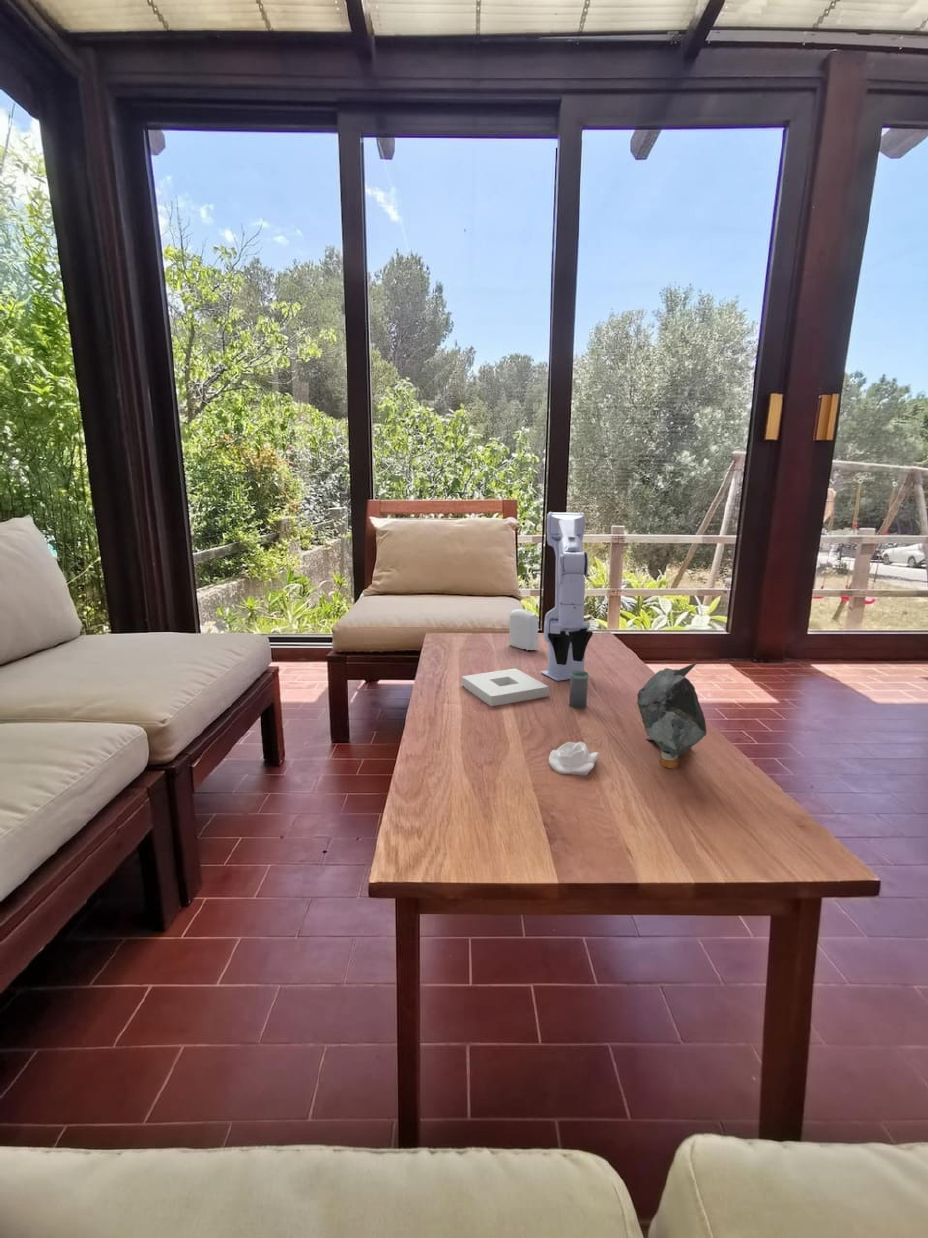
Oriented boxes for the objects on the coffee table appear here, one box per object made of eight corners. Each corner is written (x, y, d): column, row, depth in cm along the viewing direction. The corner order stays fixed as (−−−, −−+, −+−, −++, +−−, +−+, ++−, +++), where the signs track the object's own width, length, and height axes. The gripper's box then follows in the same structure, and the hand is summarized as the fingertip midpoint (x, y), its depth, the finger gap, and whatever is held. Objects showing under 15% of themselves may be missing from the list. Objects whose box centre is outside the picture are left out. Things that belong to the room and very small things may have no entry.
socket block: (515, 677, 160) (515, 668, 160) (548, 696, 146) (548, 686, 146) (461, 685, 153) (461, 676, 153) (490, 706, 139) (491, 696, 139)
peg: (579, 701, 143) (581, 669, 141) (590, 706, 139) (591, 674, 138) (565, 703, 141) (567, 671, 139) (575, 709, 138) (577, 676, 136)
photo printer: (506, 645, 191) (507, 607, 188) (516, 643, 194) (517, 606, 191) (529, 652, 183) (531, 613, 180) (539, 650, 186) (540, 611, 183)
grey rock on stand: (613, 759, 113) (619, 669, 109) (652, 735, 124) (659, 652, 120) (685, 785, 104) (695, 688, 100) (721, 757, 114) (731, 668, 110)
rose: (613, 751, 107) (566, 759, 104) (611, 773, 108) (564, 782, 105) (583, 729, 116) (539, 736, 113) (582, 750, 117) (538, 758, 114)
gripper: (571, 606, 129) (569, 668, 130) (602, 604, 140) (599, 661, 141) (543, 604, 133) (541, 664, 134) (575, 602, 144) (573, 658, 145)
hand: (569, 662), depth 138 cm, fingers open, 7 cm apart
